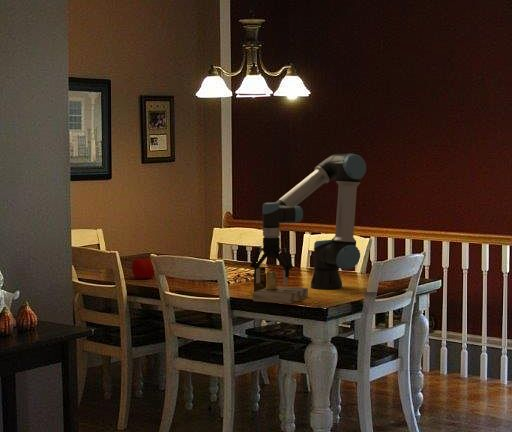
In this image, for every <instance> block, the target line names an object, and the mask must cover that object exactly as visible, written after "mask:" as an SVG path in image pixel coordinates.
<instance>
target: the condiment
mask: <svg viewBox="0 0 512 432" xmlns="http://www.w3.org/2000/svg"><path fill="white" fill-rule="evenodd" d="M259 268H260V283H256V276H255V275H254V274H253V290H250V291H254V292H255V291H258V290H261V289H265V288H267V272H266V267H265V266H259Z"/></svg>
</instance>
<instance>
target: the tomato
mask: <svg viewBox="0 0 512 432" xmlns="http://www.w3.org/2000/svg"><path fill="white" fill-rule="evenodd" d="M150 258H151V257H147V256H145V257H144V256H142V257H141V256H139V257H137V258H135V259H134V260H133V261H132V263H131V272H132V274H133V276H134V278H136V279H139V280H144V279H145V278H147V279H151V278H153V277H154V276H155V275H154V270H153V266H152V263H151V259H152V258H151V259H150ZM145 280H146V279H145Z"/></svg>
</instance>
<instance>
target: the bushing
mask: <svg viewBox="0 0 512 432" xmlns="http://www.w3.org/2000/svg"><path fill="white" fill-rule="evenodd" d="M277 274H278V272H277V271H267V272H266V282H267V290H268V291H276V290H277V286H278V285H277V284H278V281H277V280H278V278H277V277H278V275H277Z"/></svg>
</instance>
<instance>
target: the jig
mask: <svg viewBox="0 0 512 432" xmlns="http://www.w3.org/2000/svg"><path fill="white" fill-rule="evenodd" d="M308 292H309V288H307V287H294V286H278V285H277V290H276V291H268V290H267V288H265V289H261V290H258V291H255V292H253V293H252V301H253V302H263V303H277V304H289V305H290V304H293V303H296V302H298V301H300V300H303V298H304V299H306V298H309V293H308ZM295 301H296V302H295Z"/></svg>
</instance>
